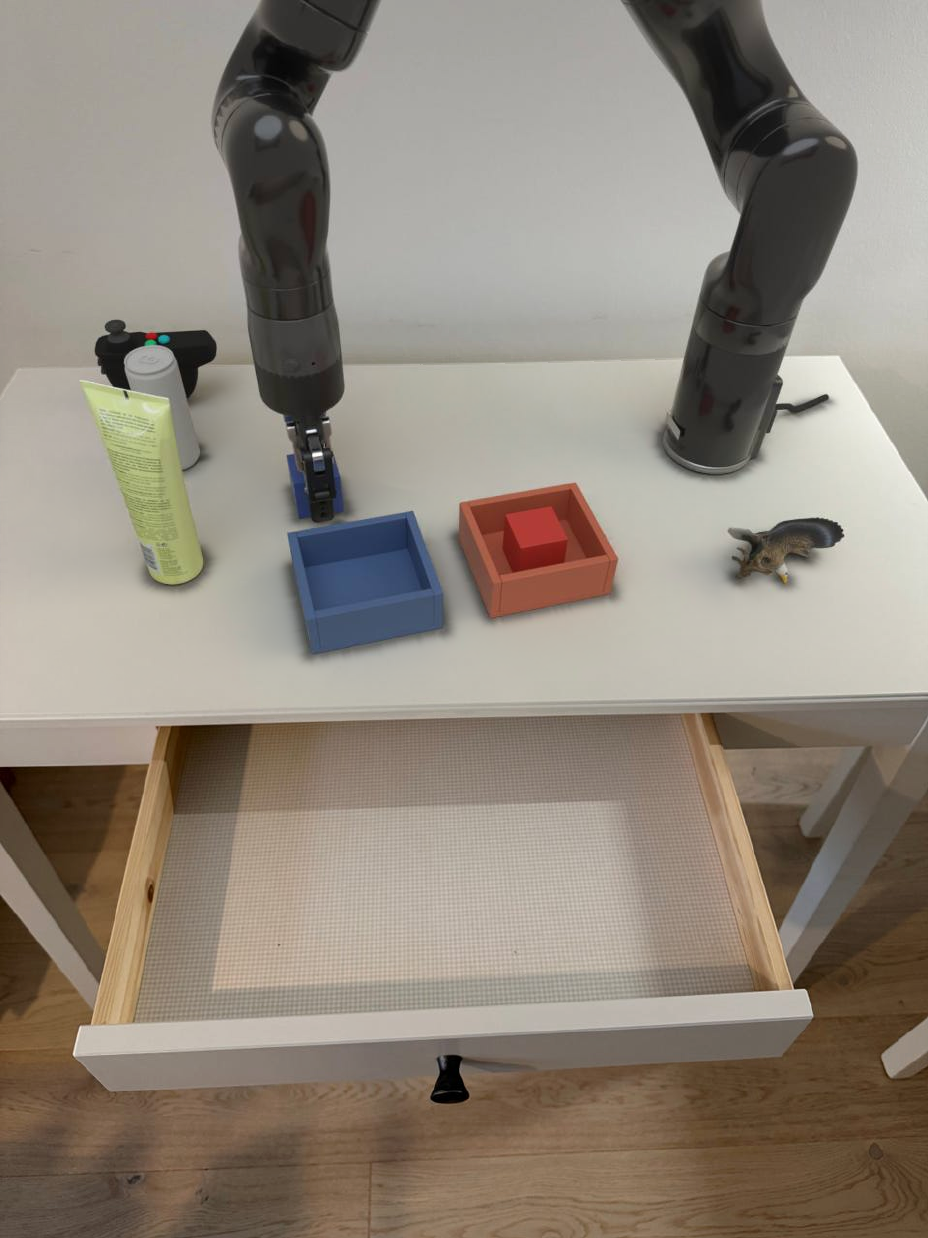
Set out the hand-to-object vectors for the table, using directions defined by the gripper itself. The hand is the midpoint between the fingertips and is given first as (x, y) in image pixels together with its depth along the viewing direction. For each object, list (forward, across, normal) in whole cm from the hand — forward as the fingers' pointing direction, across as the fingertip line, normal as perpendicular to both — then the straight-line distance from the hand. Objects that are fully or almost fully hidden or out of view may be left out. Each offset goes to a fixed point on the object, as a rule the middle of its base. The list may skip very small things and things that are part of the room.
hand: (316, 494), depth 87 cm
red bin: (+1, -14, -18) cm, 23 cm away
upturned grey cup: (+1, +10, +13) cm, 16 cm away
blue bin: (+1, -14, -2) cm, 14 cm away
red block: (0, -14, -18) cm, 23 cm away
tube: (+1, -6, +14) cm, 15 cm away
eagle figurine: (+1, -20, -40) cm, 45 cm away
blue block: (+1, 0, 0) cm, 1 cm away
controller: (+1, +20, +13) cm, 24 cm away
